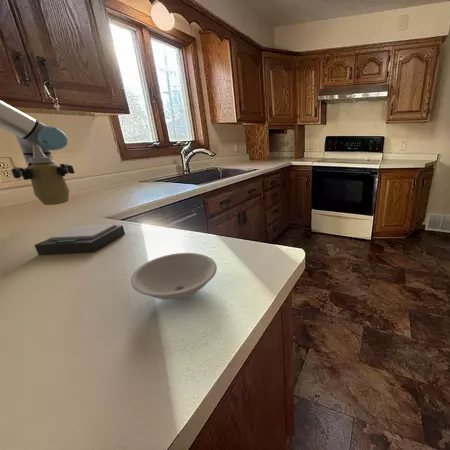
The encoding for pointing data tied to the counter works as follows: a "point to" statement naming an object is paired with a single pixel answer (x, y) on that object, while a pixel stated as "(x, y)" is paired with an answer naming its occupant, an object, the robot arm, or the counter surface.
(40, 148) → the robot arm
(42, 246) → the kitchen scale
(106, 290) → the counter surface
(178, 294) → the dish
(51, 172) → the squeeze bottle
